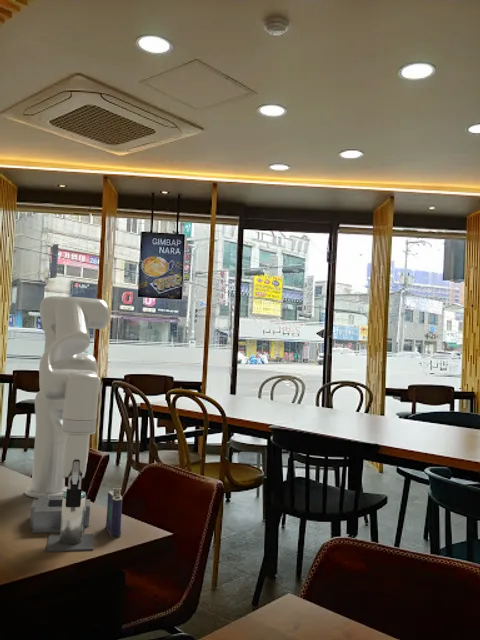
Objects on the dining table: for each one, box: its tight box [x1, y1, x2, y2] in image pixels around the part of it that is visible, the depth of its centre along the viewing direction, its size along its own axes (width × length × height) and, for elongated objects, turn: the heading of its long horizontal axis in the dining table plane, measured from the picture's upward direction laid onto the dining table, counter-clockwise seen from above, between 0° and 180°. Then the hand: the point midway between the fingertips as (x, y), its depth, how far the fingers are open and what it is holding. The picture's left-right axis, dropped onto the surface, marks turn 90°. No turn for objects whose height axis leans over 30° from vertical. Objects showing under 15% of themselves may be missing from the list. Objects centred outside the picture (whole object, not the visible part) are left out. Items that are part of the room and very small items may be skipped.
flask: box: [105, 487, 123, 539], centre depth 138 cm, size 9×3×11 cm, turn 22°
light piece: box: [59, 490, 87, 545], centre depth 129 cm, size 5×5×11 cm
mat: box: [45, 533, 94, 553], centre depth 128 cm, size 10×10×1 cm
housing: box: [29, 495, 91, 534], centre depth 142 cm, size 14×14×5 cm
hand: (73, 500), depth 129 cm, fingers open, 9 cm apart
